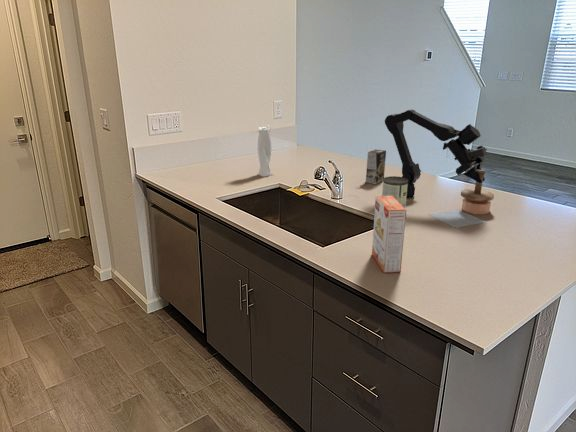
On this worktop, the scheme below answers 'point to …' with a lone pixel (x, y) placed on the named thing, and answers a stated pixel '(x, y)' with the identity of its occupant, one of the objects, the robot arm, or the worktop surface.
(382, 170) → the coffee box
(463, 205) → the bowl
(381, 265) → the cracker box
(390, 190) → the coffee can
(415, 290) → the worktop surface
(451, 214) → the mat
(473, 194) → the lid
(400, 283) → the worktop surface
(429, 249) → the worktop surface
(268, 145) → the skyscraper
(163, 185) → the worktop surface
